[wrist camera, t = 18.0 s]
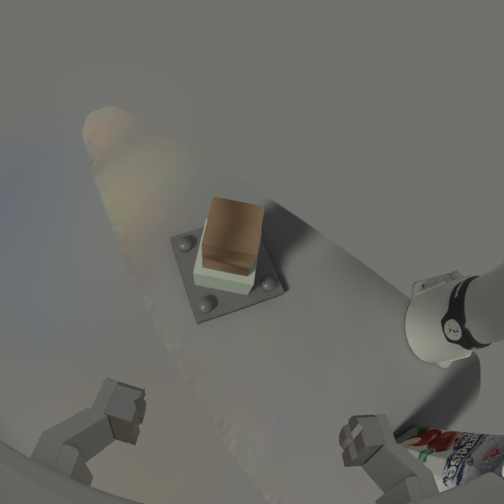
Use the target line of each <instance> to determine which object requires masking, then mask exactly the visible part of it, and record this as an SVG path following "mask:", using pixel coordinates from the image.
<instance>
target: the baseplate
mask: <svg viewBox="0 0 504 504" xmlns="http://www.w3.org/2000/svg"><path fill="white" fill-rule="evenodd" d="M207 220H208V219H206V221H205V225H204V228H202V229H198V230H195V231H191V232H188V233H185V234H181V235H178V236H175V237H171V238H170V240H171V244H172V247H173V250H174V254H175V257H176V260H177V264H178V267H179V270H180V273H181V277H182V280H183V283H184V286H185V289H186V292H187V295H188V298H189V301H190V304H191V307H192V310H193V313H194V316H195V319H196V322H197V324H199V323H202V322H205V321H208V320H211V319H214V318H217V317H220V316H223V315H226V314H229V313H232V312H235V311H238V310H241V309H244V308H246V307H249V306H252V305H255V304H258V303H261V302H263V301H266V300H269V299H272V298H275V297H277V296H280V295H282V294H283V293H285V292H284V290H283V288H282V285H281V283H280V280H279V278H278V276H277V273H276V271H275V268H274V266H273V263H272V261H271V259H270V256H269V254H268V251H267V249H266V247H265V244H264V242H263V239H262V237H261V234H262V230H261V234H260V241H259V247H258V253H257V257H256V259H255V261H254V263H253V265H252V268H251V270H250V272H249V274H248V276H242V275H237V274H232V273H227V272H222V271H217V270H212V269H207V268H202V240H203V236H204V232H205V228H206V224H207Z"/></svg>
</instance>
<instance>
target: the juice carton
mask: <svg viewBox="0 0 504 504" xmlns="http://www.w3.org/2000/svg"><path fill="white" fill-rule="evenodd" d="M395 441H396V444H398V443H399V444H400V445H402V446H403V447H404V448H405V449H406V450H407V451H409V452H410V453H411V454H412V455H413V456H415V457H416V458H417V459H418V460H419V461H421V462H422V463H423V464H424V465H425V466H427V467H428V468H429V469H430V470H431V471H432V473H433V475H434V478H435V481H436V484H437V487H438V490H439V493H440V492H443V491H445V490H448V489H451V488H453V487H456V486H458V485H461V484H463V483H465V482H468V481H470V480H472V479H475V478H477V477H479V476H481V475H483V474H485V473H488V472H493V473H494V474H496V475H498V476H499V477H501V478H502V479H503V480H504V435H489V434H477V433H467V432H458V431H450V430H442V429H436V428H429V427H423V426H413V427H412V428H410V429H409V430H407V431H406V432H404V433H403V434H402V435H400V436H399V437H397V438H395Z"/></svg>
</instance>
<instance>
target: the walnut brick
mask: <svg viewBox="0 0 504 504" xmlns="http://www.w3.org/2000/svg"><path fill="white" fill-rule="evenodd" d="M264 209H265V207H262V206H257V205H252V204H248V203H243V202H238V201H233V200H228V199H223V198H218V197H213V200H212V204H211V208H210V212H209V216H208V220H207V224H206V228H205V232H204V236H203V240H202V268H207V269H212V270H217V271H222V272H227V273H232V274H237V275H242V276H248V274H249V272H250V270H251V268H252V265H253V263H254V261H255V259H256V257H257V253H258V247H259V241H260V234H261V228H262V222H263V216H264Z"/></svg>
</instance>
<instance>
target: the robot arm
mask: <svg viewBox="0 0 504 504" xmlns="http://www.w3.org/2000/svg"><path fill="white" fill-rule="evenodd" d="M422 287H423V288H422ZM405 328H406V335H407V339H408V342H409V345H410V347H411V349H412V350H413V352H414V353H415V355H416V356H417V357H419V358H420V359H421V360H423V361H426V362H432V363H436V364H437V365H439V366H440V367H441V368H447V367H449V366H450V364H451V363H452V362H453V361H454V360H458V359H462V358H466V357H469V356H470V355H471V353H472V352H473V351H474V349H481V348H484V347H486V346H488V345H490V344H491V343H493V342H498V341H502V340H504V262H503V263H502V264H500V265H499V266H498V267H496V268H494V269H493V270H491V271H489V272H487V273H485V274H483V275H481V276H471V275H469V276H466V277H463V276H462V275H461V274H460V273H459V272H458V271H454V272H452V273H449V274H446V275H442V276H438V277H434V278H430V279H426V280H422V281H418V282H415V283H414V284H413V286H412V299H411V302H410V304H409V307H408V310H407V314H406V321H405ZM144 397H145V390H144V389H141V388H138V387H134V386H131V385H128V384H125V383H122V382H118V381H115V380H112V379H109V378H106V380H105V381H104V382H103V384H102V386H101V388H100V391H99V393H98V395H97V397H96V399H95V401H94V403H93V405H92V407H91V409H88V408H86V409H85V410H83V411H81V412H79V413H77V414H76V415H74V416H72V417H70V418H68V419H66V420H65V421H63V422H61V423H59V424H57V425H55V426H53V427H52V428H50V429H48V430H46V431H44V432H43V433H42V435H41V437H40V439H39V441H38V443H37V445H36V447H35V449H34V451H33V453H32V455H31V457H30V458H29V457H28V456H26V455H24V454H22V453H21V452H19V451H17V450H16V449H14V448H12V447H11V446H9V445H8V444H6V443H4V442H3V441H1V440H0V504H143V503H139V502H136V501H132V500H129V499H126V498H122V497H119V496H116V495H113V494H110V493H107V492H104V491H102V490H99V489H96V488H93V487H91V486H90V485H91V482H92V479H93V475H92V473H91V472H90V470H89V469H88V467H87V466H86V464H85V463H86V462H87V461H88V460H90V459H91V458H93V457H94V456H95V455H96V454H98V453H99V452H100V451H102V450H103V449H104V448H105V447H107V446H108V445H110V444H111V443H112V442H113V441H115V439H116V440H119V441H122V442H126V443H130V444H133V445H136V442H137V438H138V436H139V432H140V430H139V425H140V424H141V423H142V422H143V419H144V415H145V410H146V401H145V400H144ZM348 421H349V424H347V425H345V426H344V427H343V428H342V429H341V431H340V435H339V443H340V446H341V447H342V448H343V449H344V451H343V453H342V457H343V462H344V467H351V466H362V468H363V469H364V470H365V471H366V472H367V474H368V475H369V476H370V477H371V478H372V479H373V481H374V482H375V483H376V484H377V485H378V486H379V488H380V489H381V490H382V491H383V492H384V493H385V494H384V495H382V496H381V497H379V498H378V499H377V500H376V501H375V502H376V504H504V480H503V479H502V478H501V477H499V476H498V475H496V474H494V473H493V472H488V473H485V474H483V475H481V476H479V477H477V478H475V479H472V480H470V481H468V482H465V483H463V484H461V485H458V486H456V487H453V488H451V489H448V490H445V491H443V492H440V493H439V490H438V487H437V484H436V481H435V478H434V475H433V473H432V471H431V470H430V469H429V468H428V467H427V466H425V465H424V464H423V463H422V462H421V461H419V460H418V459H417V458H416V457H415V456H413V455H412V454H411V453H410V452H409V451H407V450H406V449H405V448H404V447H403V446H402V445H400V444H399V443H398V444H396V441H395V438H394V435H393V432H392V430H391V427H390V424H389V422H388V419H387V417H386V416H385V415H356V416H352V417H351V418H350V419H349V420H348Z"/></svg>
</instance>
